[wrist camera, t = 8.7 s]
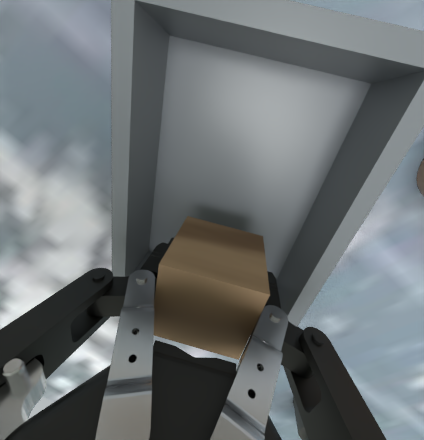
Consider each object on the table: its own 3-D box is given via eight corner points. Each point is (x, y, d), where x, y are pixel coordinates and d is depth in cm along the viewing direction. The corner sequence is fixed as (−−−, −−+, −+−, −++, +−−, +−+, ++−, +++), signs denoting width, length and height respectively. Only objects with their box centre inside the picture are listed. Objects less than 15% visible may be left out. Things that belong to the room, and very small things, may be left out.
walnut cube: (187, 215, 14) (159, 263, 9) (262, 236, 14) (270, 295, 9) (176, 273, 16) (149, 334, 12) (241, 291, 16) (238, 359, 12)
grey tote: (140, 253, 21) (111, 290, 17) (158, 13, 13) (110, -41, 8) (279, 291, 21) (288, 340, 16) (393, 69, 12) (476, 43, 8)
